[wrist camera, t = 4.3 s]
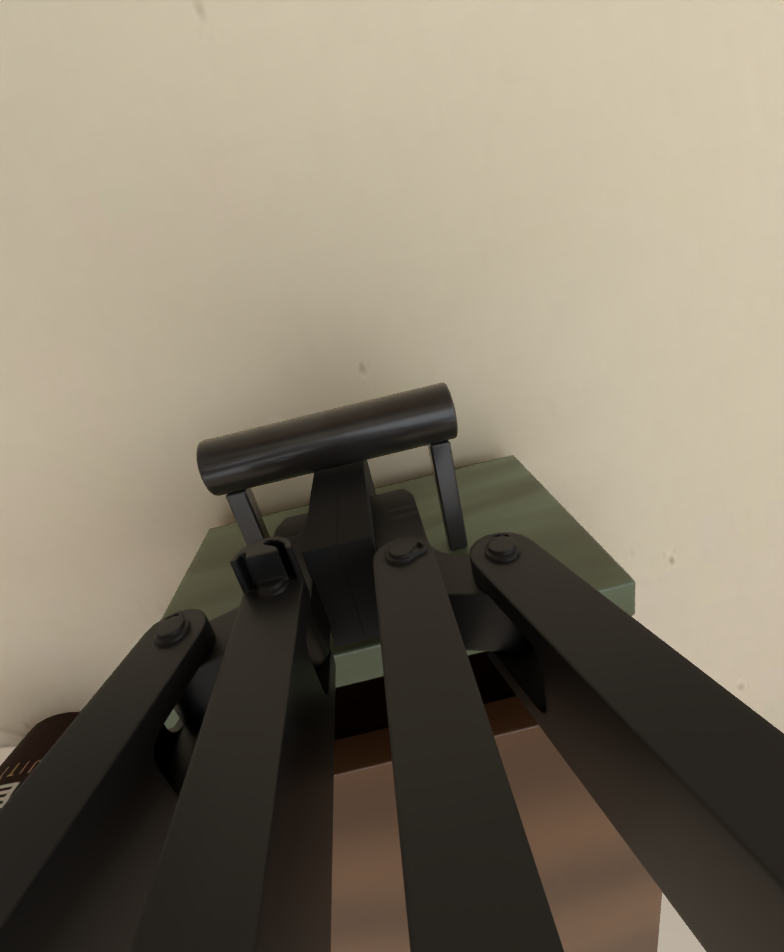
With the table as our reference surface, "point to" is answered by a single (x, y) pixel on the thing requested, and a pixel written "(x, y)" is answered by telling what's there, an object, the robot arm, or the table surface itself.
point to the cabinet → (547, 829)
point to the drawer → (360, 438)
